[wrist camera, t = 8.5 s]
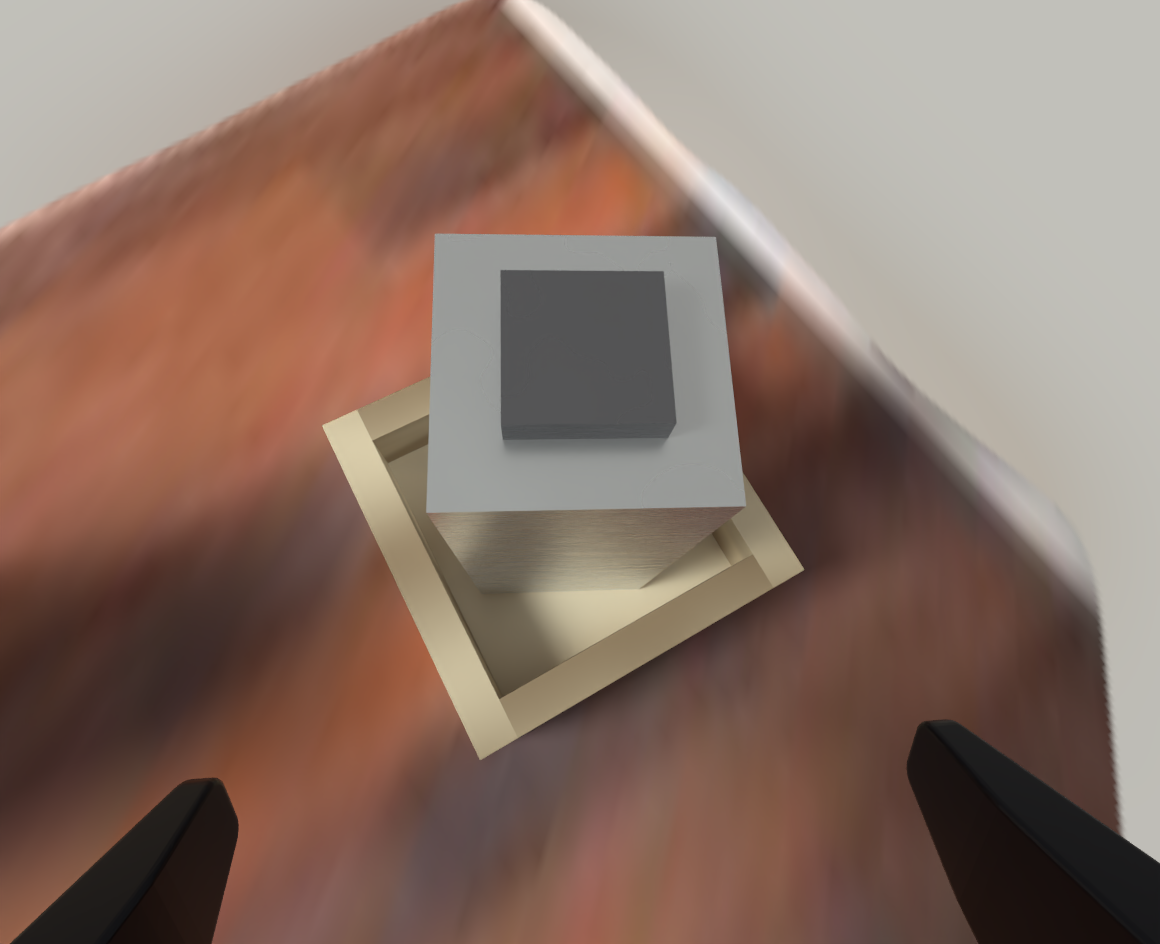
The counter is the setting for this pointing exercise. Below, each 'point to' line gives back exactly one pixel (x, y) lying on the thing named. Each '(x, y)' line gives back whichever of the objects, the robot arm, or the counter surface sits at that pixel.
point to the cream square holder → (536, 619)
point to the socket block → (578, 408)
